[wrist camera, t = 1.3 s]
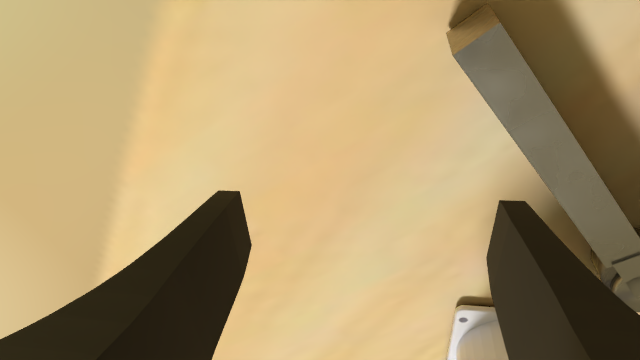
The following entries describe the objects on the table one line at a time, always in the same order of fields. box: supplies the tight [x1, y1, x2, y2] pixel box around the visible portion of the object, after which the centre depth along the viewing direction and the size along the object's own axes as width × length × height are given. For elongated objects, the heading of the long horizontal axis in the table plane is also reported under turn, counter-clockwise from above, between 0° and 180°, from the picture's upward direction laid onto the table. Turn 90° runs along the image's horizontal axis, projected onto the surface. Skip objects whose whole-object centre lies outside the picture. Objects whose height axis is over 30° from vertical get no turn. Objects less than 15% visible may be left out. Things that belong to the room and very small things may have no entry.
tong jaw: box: [446, 3, 640, 312], centre depth 19 cm, size 17×3×3 cm, turn 42°
